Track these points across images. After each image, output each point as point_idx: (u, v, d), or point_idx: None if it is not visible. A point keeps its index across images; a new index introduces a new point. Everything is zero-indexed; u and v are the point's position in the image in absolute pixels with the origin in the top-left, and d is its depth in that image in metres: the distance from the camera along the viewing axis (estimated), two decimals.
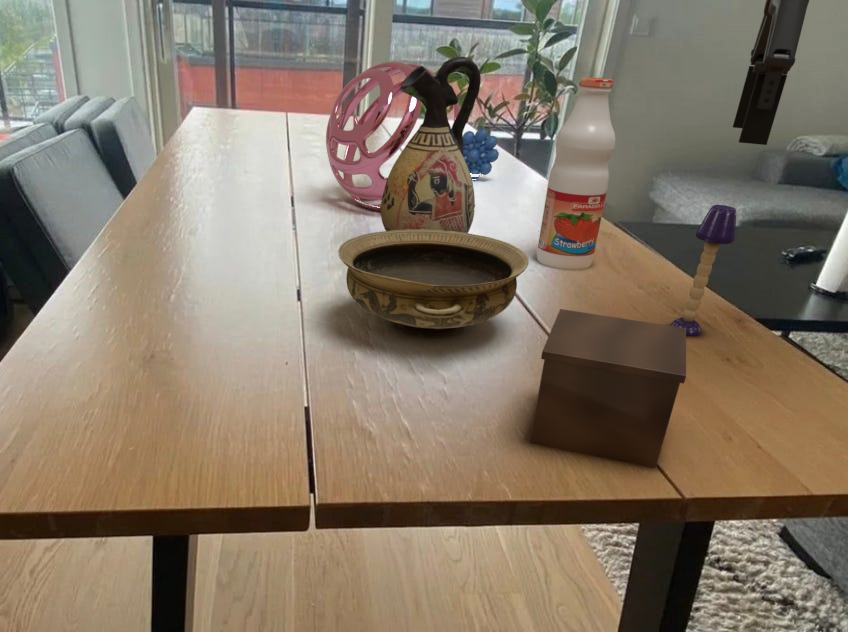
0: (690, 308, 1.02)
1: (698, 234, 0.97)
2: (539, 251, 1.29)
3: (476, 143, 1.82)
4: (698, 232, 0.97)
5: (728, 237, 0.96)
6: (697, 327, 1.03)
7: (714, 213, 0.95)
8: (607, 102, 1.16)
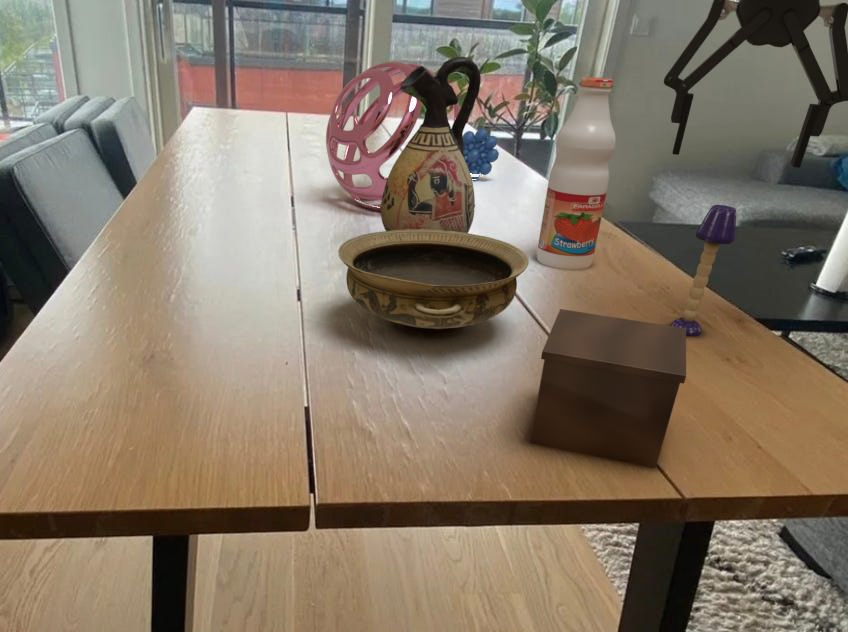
0: (690, 308, 1.02)
1: (698, 234, 0.97)
2: (539, 251, 1.29)
3: (476, 143, 1.82)
4: (698, 232, 0.97)
5: (728, 237, 0.96)
6: (697, 327, 1.03)
7: (714, 213, 0.95)
8: (607, 102, 1.16)
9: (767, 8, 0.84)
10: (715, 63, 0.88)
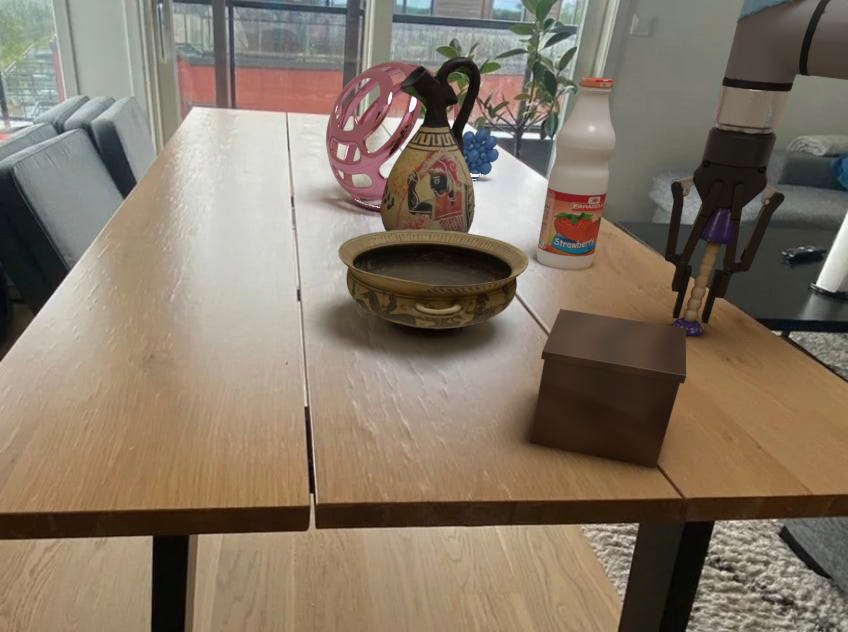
0: (691, 309, 1.02)
1: None
2: (539, 251, 1.29)
3: (476, 143, 1.82)
4: None
5: (729, 238, 0.95)
6: (698, 327, 1.03)
7: (715, 213, 0.95)
8: (607, 102, 1.16)
9: (716, 179, 0.93)
10: (698, 235, 0.97)
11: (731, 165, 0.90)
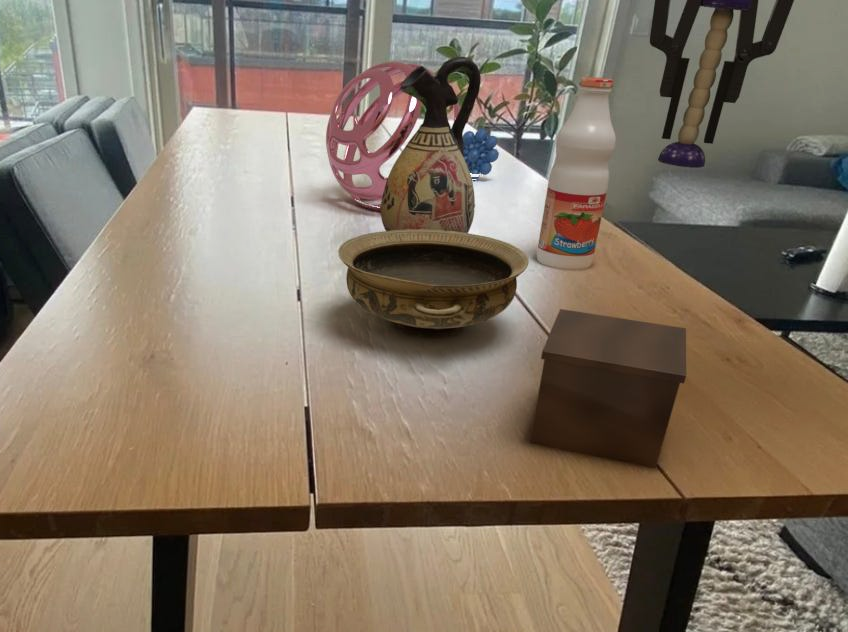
0: (689, 123, 0.70)
1: None
2: (539, 251, 1.29)
3: (476, 143, 1.82)
4: None
5: None
6: (699, 152, 0.71)
7: None
8: (607, 102, 1.16)
9: None
10: None
11: None
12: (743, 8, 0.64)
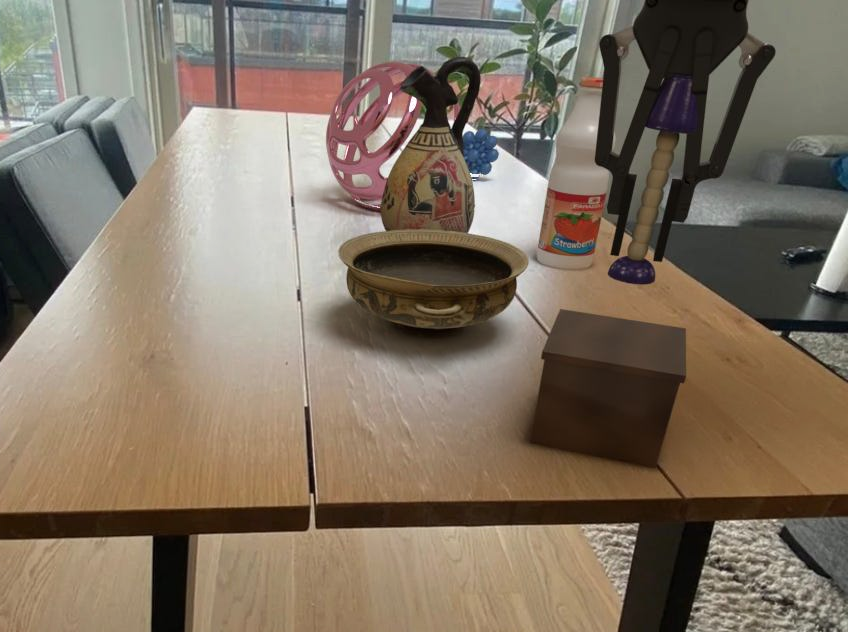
0: (637, 240, 0.68)
1: None
2: (539, 251, 1.29)
3: (476, 143, 1.82)
4: None
5: (691, 122, 0.62)
6: (649, 268, 0.69)
7: (669, 83, 0.61)
8: None
9: (669, 26, 0.59)
10: (643, 122, 0.63)
11: None
12: (688, 132, 0.62)
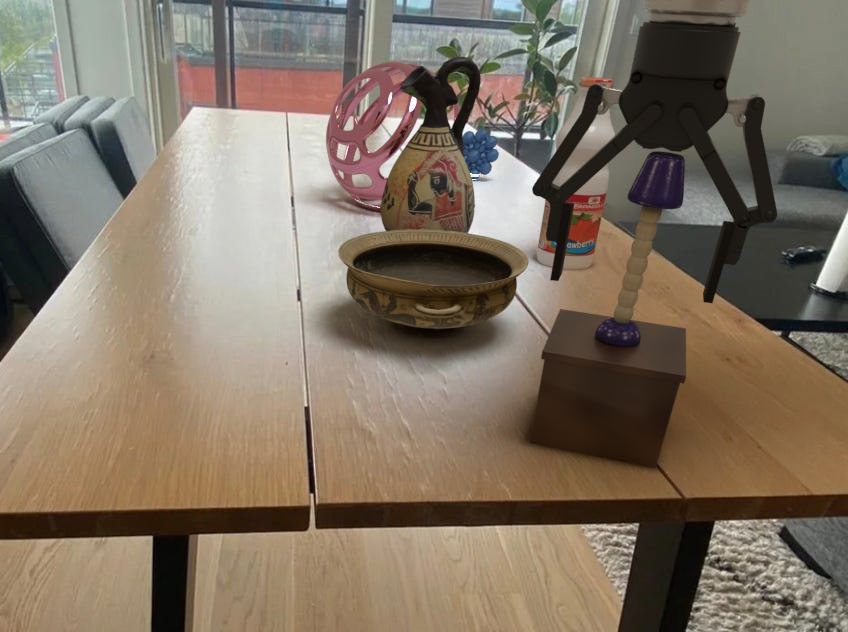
0: (623, 304, 0.71)
1: (630, 195, 0.66)
2: (539, 251, 1.29)
3: (476, 143, 1.82)
4: (630, 192, 0.66)
5: (673, 199, 0.65)
6: (634, 331, 0.72)
7: (651, 163, 0.64)
8: None
9: (658, 101, 0.62)
10: (595, 170, 0.66)
11: (671, 76, 0.59)
12: (670, 208, 0.65)
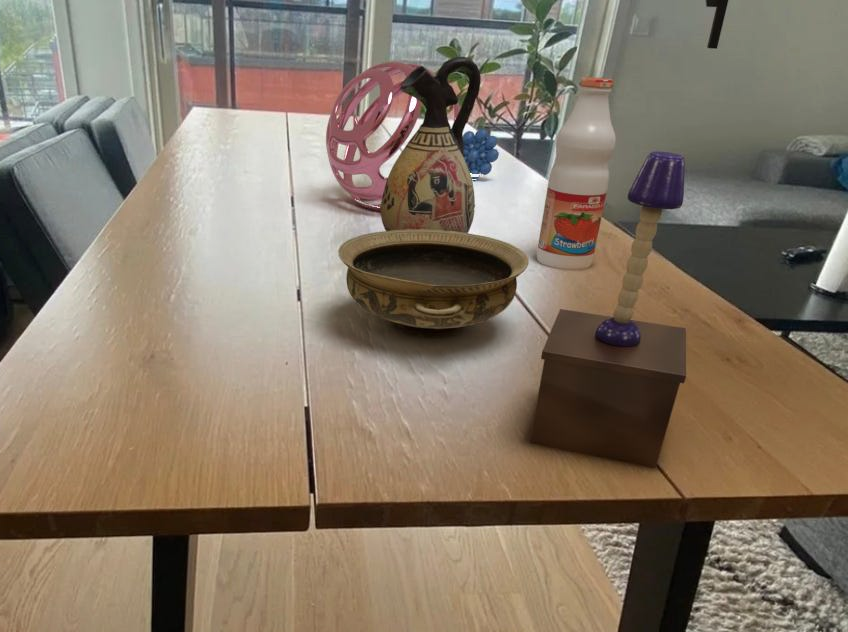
0: (623, 304, 0.71)
1: (630, 195, 0.66)
2: (539, 251, 1.29)
3: (476, 143, 1.82)
4: (630, 192, 0.66)
5: (673, 199, 0.65)
6: (634, 331, 0.72)
7: (651, 163, 0.64)
8: (607, 102, 1.16)
9: None
10: None
11: None
12: (670, 208, 0.65)
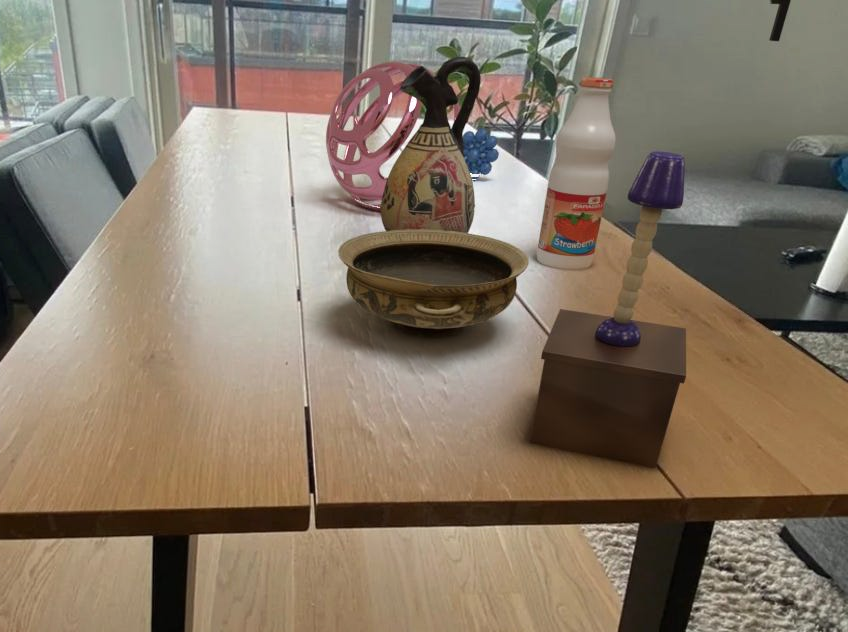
0: (623, 304, 0.71)
1: (630, 195, 0.66)
2: (539, 251, 1.29)
3: (476, 143, 1.82)
4: (630, 192, 0.66)
5: (673, 199, 0.65)
6: (634, 331, 0.72)
7: (651, 163, 0.64)
8: (607, 102, 1.16)
9: None
10: None
11: None
12: (670, 208, 0.65)
